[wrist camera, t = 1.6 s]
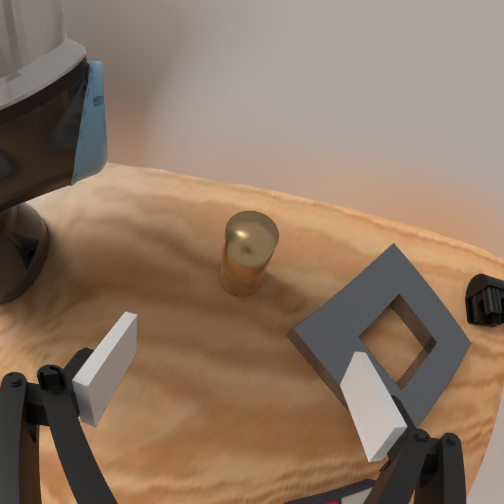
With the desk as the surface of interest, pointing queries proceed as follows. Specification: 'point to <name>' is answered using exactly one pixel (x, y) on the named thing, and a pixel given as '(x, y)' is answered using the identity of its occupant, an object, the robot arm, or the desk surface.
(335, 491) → the calculator
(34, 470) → the robot arm
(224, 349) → the desk surface
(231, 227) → the metal cylinder
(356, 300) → the frame
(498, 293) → the end cap
